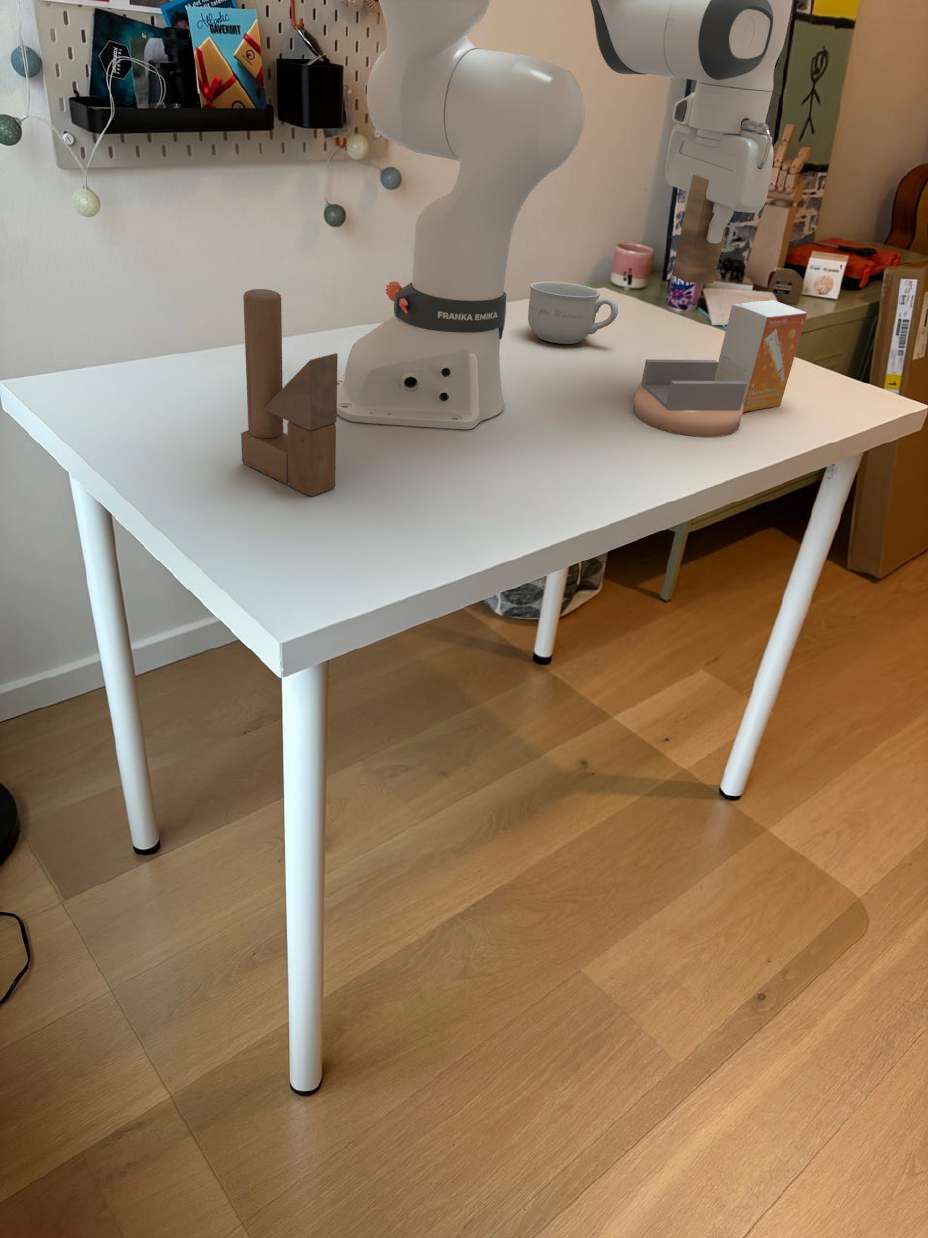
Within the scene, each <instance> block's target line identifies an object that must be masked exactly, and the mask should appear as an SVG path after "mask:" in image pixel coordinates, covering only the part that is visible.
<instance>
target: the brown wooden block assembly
mask: <svg viewBox="0 0 928 1238" xmlns="http://www.w3.org/2000/svg"><path fill="white" fill-rule="evenodd" d="M282 316H283V315H282V296H281V294H280V293H279V292H277V291H275V290H272V289H267V288H266V289H265V288H264V289H263V288H253V289H249V290H246V291H245V292H244V294H243V321H244V324H243V325H244V327H243V328H244V349H245V350H244V351H245V353H244V354H245V373H246V374H245V375H246V378H245V379H246V401H247V403H246V404H247V427H248V428H247V429H248V430H244V431H242V432H241V433H240V440H241V441H240V443H241V461H242V464H244V465H246V466H248V467H249V468H252V469H254V470H256V471H259V472H261V473H262V474H264V475H267V476H269V477H270V478H272V479H275V480H276V481H279V482H280V483H282V484H285V485H288V486H289V487H290V488H292V489H294V490H296V491H297V492H300V493H302V494H305V495H306V496H308V497H315V496H317V495H320V494H322V493H325V492H328V491H329V490H332V489H335V487H336V466H337V465H336V459H337V424H336V423H337V421H338V419H337V415H338V414H337V376H338V357H339V356H338V355H339V354H338V353H335V352H334V353H332V354H328V355H324V356H319V357H316V358H312V359H309V361H307V363H306V364H305V365H304V366H302V368H300V370H299V371H298V372H297V373H296V374H295V375H294V376H293V377H292V378H291V379H290V380H289V381H288V382H287V383H286V384H285V385H283V383H284V382H283V380H284V379H283V334H282V333H283V330H282V328H283V327H282V326H283V324H282V323H283V322H282ZM284 420H285V421H288V422H287V425H286V426H287V431H286V432H287V433H285V432H284Z"/></svg>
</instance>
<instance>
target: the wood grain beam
mask: <svg viewBox="0 0 928 1238" xmlns="http://www.w3.org/2000/svg"><path fill="white" fill-rule="evenodd" d="M708 182H709V180H707V179H704V178H701V177H699V176H696V175H693V177H692V182H691V186H690V191H689V196H688V201H687V205H686V210H685V209H684V215H683V219H682V223H681V224H682V226H681V230H680V234H679V237H678V238H679V239H678V243H677V248H676V252H675V253H676V254H675V258H674V262H673V267H672V271H671V275H672V276H673V277H675V278H677V279H679V280H681V281H682V282H683V283H687V284H688V283H689V284H690V283H691V284H692V283H693V284H712V285H713V284H714V283H715V277H716V274H717V270H718V265H719V262H720V257H721V253H722V249H723V245H724V244H723V243H724V240H725V235H726V232H727V226H728V224H727V225H726V227H725V228H724V231H723V235H722V240H721V242H720V243H710V242H707V241H705V240H704V238H703V236H704V234H705V227H706V225H710V223H711V220H712V218H713V216H714V214H715V213H713V207H714V202H711V201H709V200H707V199H706V190H707V186H708Z"/></svg>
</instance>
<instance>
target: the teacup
mask: <svg viewBox="0 0 928 1238" xmlns="http://www.w3.org/2000/svg"><path fill="white" fill-rule="evenodd" d="M529 287H530V294H529V301H528V309H527V311H528V312H527V321H528V322H527V323H528V325H529V327H530V329H531V330H532V332H534V333H535V335H536V337H538V339H541V340H543V341H545V342H550V343H553V344H554V343H555V344H559V345H561V344H562V345H572V344H577V343H580V342H581V341H582V340H583V339H585V338H586V337H588V336H589V335H594V334H596V332H597V331H599V330H600V329H603V328H605V327H608V326H609V325H611V324H613V322H614V321H615V320H616V318H617V317H618V313H619V308H618V303H617V301H615V300H614V299H613V298H611V297H608V296H607V297H606V296H605V297H601V298H600V296H601V292H600V291H599V290H598V289H595V288H594V287H591V286H586V285H584V284H579V283H572V282H566V281H565V282H564V281H553V280H551V281H549V280H548V281H537V282H532V283H531V284H530V285H529ZM603 305H608V306H609V307H610V312H611V313H610V315H608V317H607V318H606V319H604V320H602V321H600V322H596V323H595V321H596V317H597V313H599V310H600V308H601V307H602V306H603Z"/></svg>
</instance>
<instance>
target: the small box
mask: <svg viewBox="0 0 928 1238" xmlns="http://www.w3.org/2000/svg"><path fill="white" fill-rule="evenodd" d="M807 315H808V312H806V311H804V310H801V309H799V308H797V307H794V306H791V305H788V304H785V303H782V302H779V301H777V300H775V299H771V300H770V299H769V300H762V301H760V300H759V301H758V300H757V301H749V302H743V303H732V304H731V308H730V312H729V315H728V316H729V317H728V320H727V324H726V330H725V333H724V337H723V342H722V346H721V348H720V349H721V350H720V354H719V356H718V357H719V358H718V361H717V362H718V367H717V371H716V375H715V379H714V381H744V382H745V383H746V384H747V385H746V389H745V393H744V397H743V401H742V403H743V405H744V409H743V413H745V412H751V411H756V410H757V411H758V410H762V409H768V408H773V407H774V408H775V407H776V408H777V407H780V406H781V404H782V401H783V398H784V394H785V390H786V387H787V385H788V380H789V376H790V374H791V371H792V367H793V364H794V360H795V357H796V353H797V350H798V346H799V343H800V339H801V335H802V333H803V329H804V326H805V322H806V319H807Z"/></svg>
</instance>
